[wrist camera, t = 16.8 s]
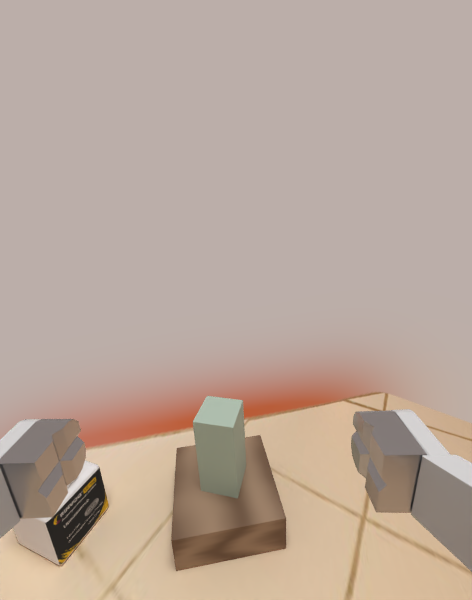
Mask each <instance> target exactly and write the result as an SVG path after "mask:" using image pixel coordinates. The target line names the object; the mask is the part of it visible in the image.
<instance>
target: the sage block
mask: <svg viewBox="0 0 472 600" xmlns="http://www.w3.org/2000/svg"><path fill="white" fill-rule="evenodd" d="M193 427H194V436H195V444H196V453H197V461H198V470H199V478H200V486H201V491H205V492H209V493H214V494H219V495H224V496H228V497H233V498H238V496H239V492H240V488H241V484H242V480H243V476H244V472H245V468H246V451H245V432H244V413H243V400H235V399H227V398H220V397H212V396H207V397H206V399H205V401H204V403H203V404H202V406H201V408H200V410H199V412H198V414H197V415H196V417H195V419H194V421H193Z"/></svg>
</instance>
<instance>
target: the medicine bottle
mask: <svg viewBox="0 0 472 600" xmlns="http://www.w3.org/2000/svg"><path fill="white" fill-rule="evenodd" d="M67 489H68V494H67V495H66V497H65V499H64V500H63V502H62V503H61V505H60V507H59V508H58V510H57V512H56V513H55V515H54V517H48V518H27V519H20V522H19V523H17V524H16V525H15V526H14V527H13V530H14V533H15V535H16V538H17V540H18V542H19V544H21V545H23V546H25V547H27V548H28V549H30V550H32V551H34V552H36V553H37V554H39V555H41V556H43V557H45V558H46V559H48V560H50V561H52V562H54V563H55V564H57V565H60V566H61V565H62V564H63V563H64V562H65V561H66V560H67V559H68V557H69V556H70V555H71V554H72V552H73V551H74V550H75V549H76V547H77V546H78V545H79V544H80V542H81V541H82V540H83V539H84V537H85V536H86V535H87V534H88V532H89V531H90V530H91V529H92V527H93V526H94V525H95V524H96V522H97V521H98V520H99V519H100V517H101V516H102V515H103V514H104V512H105V511H106V510H107V509H108V501H107V497H106V492H105V488H104V484H103V480H102V476H101V472H100V468H99V466H98V465H97V464H94V463H91V462H88V461H85V462H84V465H83V469H82V470H81V472H80V474H79V475H78V477H77V478H76V479H75V480H74V481H72V482H71V483H70V484H68V485H67Z"/></svg>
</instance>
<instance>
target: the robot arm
mask: <svg viewBox="0 0 472 600" xmlns="http://www.w3.org/2000/svg"><path fill="white" fill-rule="evenodd" d="M353 425H354V426H355V428H356V430H357V431H356V432H355V433H354V434H353V435H352V440H351V448H352V456H353V459H354V463H355V465H356V468H357V470H358V472H359V473H360V474H361V475H362V476H364V477H365V478H366V484H365V488H366V491H367V493H368V495H369V497H370V499H371V502H372V504H373V506H374V508H375V511H376V512H389V513H411V515H412V516H413V517H414V518H415V519H416V520H417V521H418V522H419V523H420V524H421V525H423V526H424V527H425V528H426V529H427V530H428V531H429V532H430V533H431V534H432V535H433V536H434V537H435V538H436V539H437V540H439V541H440V542H441V543H442V544H443V545H444V546H445V547H446V548H447V549H448V550H449V551H450V552H451V553H452V554H453V555H454V556H456V557H457V558H458V559H459V560H460V561H461V562H462V563H463V564H464V565H465V566H466V567H467V568H468V569H469V570H470V571H472V463H471V462H469V461H467V460H465V459H463V458H462V457H460V456H458V455H450V453H449V452H448V451H447V450H446V449H445V448H444V446H443V445H442V444H441V443H440V442H439V441H438V439H437V438H436V437H435V436H434V435H433V434H432V432H431V431H430V430H429V429H428V428H427V427H426V425H425V424H424V423H423V422H422V421H421V420H420V418H419V417H418V416H417V415H416V414H415V413H414V412H413V411H412V410H410V409H405V410H391V411H366V412H355V414H354V418H353ZM80 431H81V429H80V426H79V422H78V421H77V420H74V419H41V420H38V419H36V420H35V419H34V420H32V419H29V420H23V421H20V422H18V424H16V425H15V426H14V427H13V428H12V429H11V430H10V431H9V432H8V433H7V434H6V435H5V436H4V437H3V438H2V439H1V440H0V538H1V537H2V536H4V535H5V534H6V533H7V532H8V531H9V530H10V529H12V528H13V527H14V526H15V525H16V524H17V523H19V522H20V519H27V518H48V517H54V515H55V513H56V512H57V510H58V508H59V507H60V505H61V503H62V502H63V500H64V499H65V497H66V495H67V494H68V489H67V485H68V484H70V483H71V482H72V481H74V480H75V479H76V478H77V477H78V475H79V474H80V472H81V470H82V469H83V465H84V462H85V458H86V448H85V444H84V442H83V441H82V440H81V439H80V438H79V437H78V434H79V433H80Z"/></svg>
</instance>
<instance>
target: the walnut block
mask: <svg viewBox="0 0 472 600" xmlns="http://www.w3.org/2000/svg"><path fill="white" fill-rule="evenodd" d="M245 451H246V468H245V472H244V476H243V480H242V484H241V488H240V492H239V496H238V498H233V497H228V496H224V495H219V494H214V493H209V492H205V491H201V486H200V478H199V470H198V461H197V453H196V445H194V446H188V447H181V448H177V454H176V471H175V488H174V505H173V522H172V540H171V541H172V547H173V553H174V559H175V565H176V571H179V570H184V569H189V568H193V567H198V566H203V565H208V564H213V563H218V562H222V561H227V560H232V559H237V558H242V557H247V556H252V555H256V554H261V553H266V552H271V551H276V550H281V549H285V548H286V517H285V514H284V510H283V507H282V504H281V501H280V497H279V494H278V491H277V488H276V485H275V481H274V478H273V475H272V472H271V468H270V465H269V462H268V459H267V456H266V452H265V449H264V446H263V443H262V439H261V436H260V435H258V436H252V437H246V438H245Z"/></svg>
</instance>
